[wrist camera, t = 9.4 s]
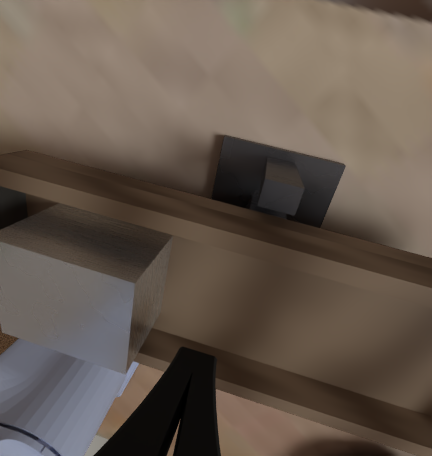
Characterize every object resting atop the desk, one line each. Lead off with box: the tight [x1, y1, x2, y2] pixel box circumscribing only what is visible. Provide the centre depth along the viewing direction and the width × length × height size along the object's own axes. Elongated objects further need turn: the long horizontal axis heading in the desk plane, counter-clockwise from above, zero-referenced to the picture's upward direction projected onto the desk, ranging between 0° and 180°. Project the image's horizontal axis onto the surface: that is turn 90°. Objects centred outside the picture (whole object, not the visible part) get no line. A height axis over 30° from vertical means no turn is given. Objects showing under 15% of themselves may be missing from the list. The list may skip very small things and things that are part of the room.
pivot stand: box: [211, 135, 345, 228], centre depth 16 cm, size 7×14×6 cm, turn 169°
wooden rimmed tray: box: [0, 150, 432, 456], centre depth 14 cm, size 26×9×3 cm, turn 79°
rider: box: [0, 203, 173, 375], centre depth 13 cm, size 7×5×5 cm
